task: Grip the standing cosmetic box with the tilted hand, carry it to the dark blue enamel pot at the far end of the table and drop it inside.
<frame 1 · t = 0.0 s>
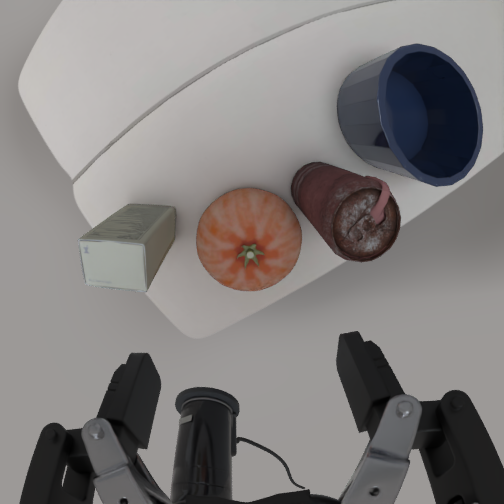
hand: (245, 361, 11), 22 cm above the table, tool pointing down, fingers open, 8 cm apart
cosmetic box: (152, 220, 31), on the table
tomato: (247, 228, 32), on the table
rusty soda tin: (316, 186, 30), on the table
pot: (388, 115, 27), on the table
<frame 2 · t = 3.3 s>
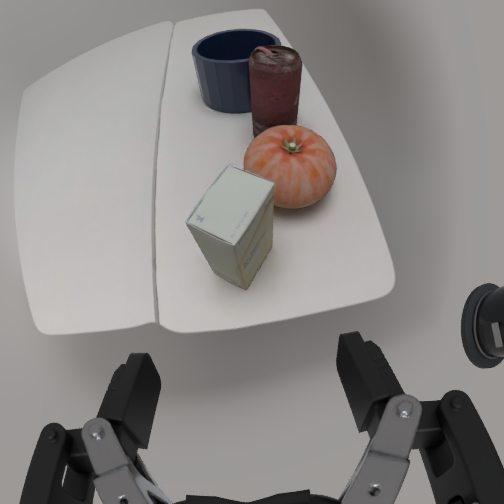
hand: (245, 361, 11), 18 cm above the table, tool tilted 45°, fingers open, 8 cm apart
cosmetic box: (243, 258, 31), on the table
tomato: (288, 184, 35), on the table
rusty soda tin: (273, 134, 38), on the table
pot: (240, 90, 42), on the table
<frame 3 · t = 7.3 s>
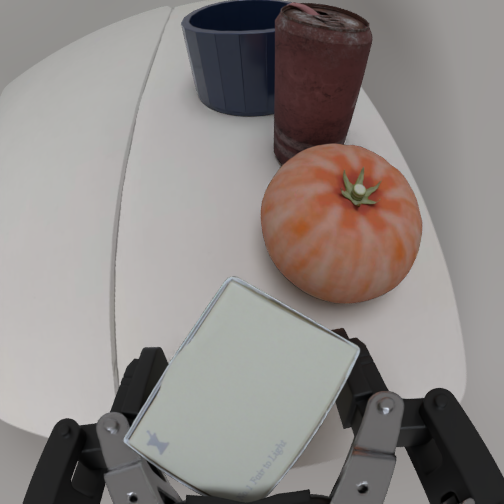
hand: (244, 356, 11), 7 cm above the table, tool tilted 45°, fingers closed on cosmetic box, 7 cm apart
cosmetic box: (255, 377, 18), on the table, touching gripper
tomato: (331, 244, 21), on the table
rusty soda tin: (304, 153, 24), on the table
pot: (253, 82, 29), on the table
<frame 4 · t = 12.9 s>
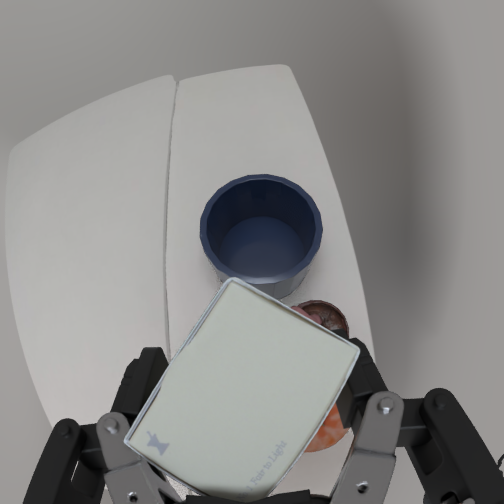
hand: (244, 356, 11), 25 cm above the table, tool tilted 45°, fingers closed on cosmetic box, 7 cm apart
cosmetic box: (255, 377, 18), point 18 cm above the table, touching gripper
tomato: (306, 405, 32), on the table
rusty soda tin: (297, 340, 35), on the table
pot: (261, 255, 40), on the table
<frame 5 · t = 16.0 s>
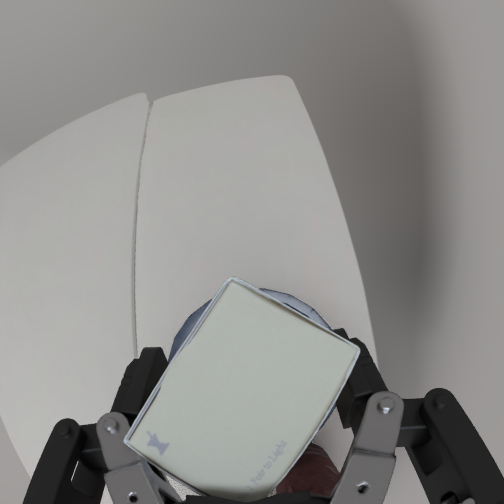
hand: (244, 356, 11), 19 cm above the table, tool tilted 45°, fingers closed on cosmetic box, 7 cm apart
cosmetic box: (254, 377, 18), point 12 cm above the table, touching gripper
rusty soda tin: (300, 462, 24), on the table
pot: (258, 368, 28), on the table
when the fingers open (11 cm above the table, at t = 18.7 s): cosmetic box drops 3 cm, resting on pot.
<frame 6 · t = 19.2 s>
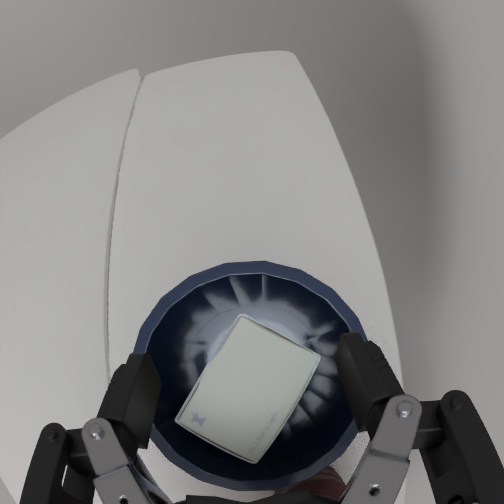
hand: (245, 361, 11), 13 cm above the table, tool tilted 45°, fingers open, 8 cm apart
cosmetic box: (253, 374, 22), resting on pot
rusty soda tin: (305, 484, 18), on the table
pot: (254, 372, 22), on the table
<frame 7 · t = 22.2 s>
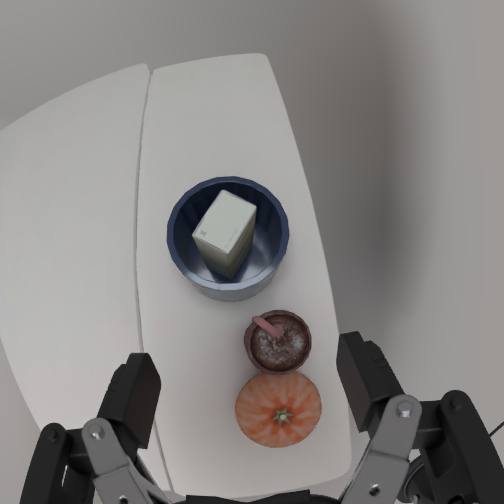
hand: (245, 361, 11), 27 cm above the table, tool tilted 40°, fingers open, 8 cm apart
cosmetic box: (229, 255, 39), resting on pot
tomato: (274, 401, 34), on the table
rusty soda tin: (265, 339, 37), on the table
pot: (230, 254, 40), on the table
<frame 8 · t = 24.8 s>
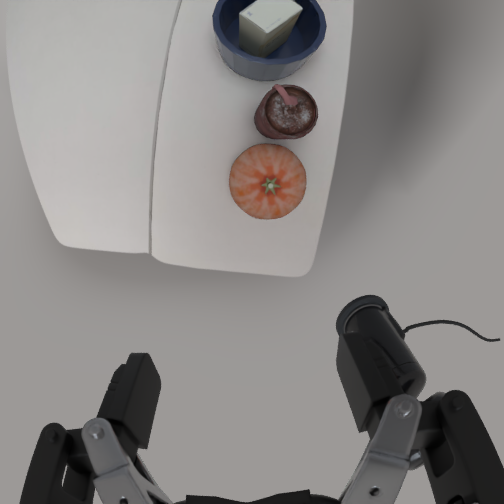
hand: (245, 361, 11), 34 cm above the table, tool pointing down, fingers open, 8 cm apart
cosmetic box: (262, 42, 32), resting on pot
tomato: (265, 177, 41), on the table
rusty soda tin: (273, 119, 38), on the table
pot: (263, 42, 32), on the table
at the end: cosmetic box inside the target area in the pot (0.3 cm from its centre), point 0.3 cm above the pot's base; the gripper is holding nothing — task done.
